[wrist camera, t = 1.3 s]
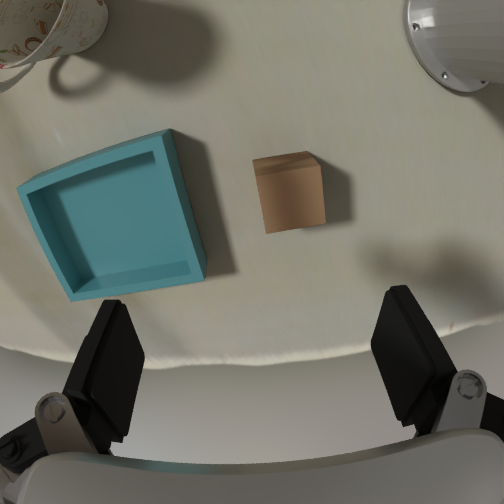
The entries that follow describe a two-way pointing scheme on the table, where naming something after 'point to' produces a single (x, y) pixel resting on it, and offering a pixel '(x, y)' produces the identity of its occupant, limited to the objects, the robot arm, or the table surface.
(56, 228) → the tray
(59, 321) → the table surface
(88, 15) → the mug
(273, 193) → the block
